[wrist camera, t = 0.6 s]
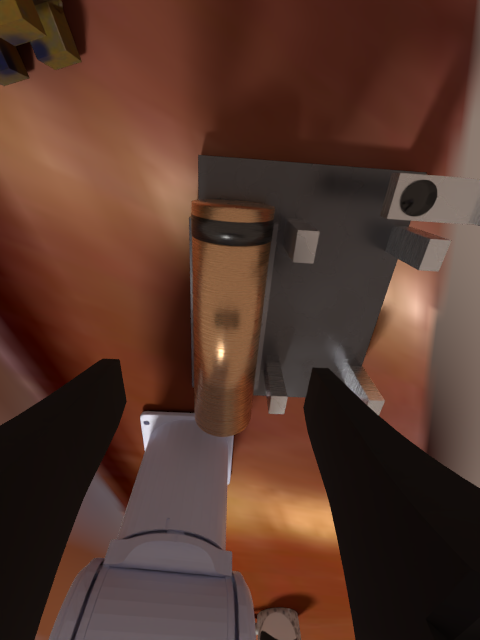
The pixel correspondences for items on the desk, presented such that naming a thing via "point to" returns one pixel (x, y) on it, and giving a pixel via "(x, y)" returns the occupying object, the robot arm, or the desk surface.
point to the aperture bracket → (432, 199)
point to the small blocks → (301, 248)
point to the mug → (277, 624)
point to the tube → (227, 308)
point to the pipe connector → (34, 37)
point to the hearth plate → (329, 263)
